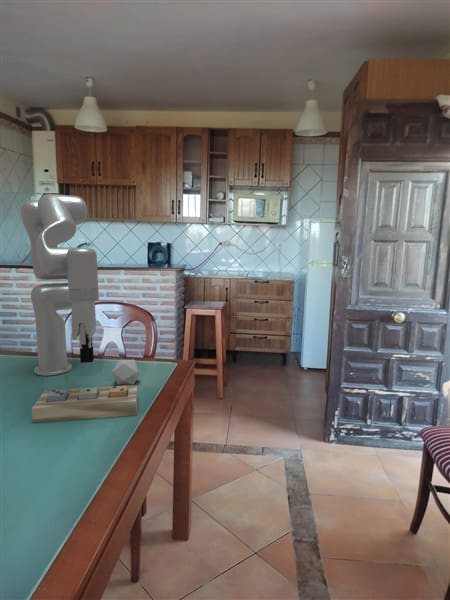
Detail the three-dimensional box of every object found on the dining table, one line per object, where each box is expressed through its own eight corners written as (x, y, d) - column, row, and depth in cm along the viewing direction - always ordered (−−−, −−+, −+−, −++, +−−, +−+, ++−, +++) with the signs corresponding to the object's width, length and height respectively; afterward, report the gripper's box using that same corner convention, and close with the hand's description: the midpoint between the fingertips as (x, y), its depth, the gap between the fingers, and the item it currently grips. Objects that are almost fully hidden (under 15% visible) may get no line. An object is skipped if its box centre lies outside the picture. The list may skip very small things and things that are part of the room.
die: (125, 392, 121) (143, 365, 123) (103, 377, 122) (120, 351, 124) (131, 391, 129) (147, 367, 131) (110, 378, 130) (126, 353, 132)
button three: (51, 400, 106) (51, 389, 106) (68, 399, 107) (67, 388, 107) (47, 406, 102) (46, 395, 102) (65, 405, 103) (64, 394, 103)
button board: (45, 404, 110) (44, 390, 109) (137, 397, 115) (137, 385, 114) (32, 423, 98) (31, 408, 98) (136, 415, 103) (135, 401, 103)
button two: (111, 396, 109) (110, 385, 109) (127, 395, 110) (126, 384, 110) (109, 402, 105) (109, 391, 105) (126, 401, 106) (125, 390, 106)
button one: (82, 398, 108) (81, 387, 107) (98, 397, 109) (97, 386, 108) (79, 404, 104) (78, 393, 103) (96, 403, 104) (95, 392, 104)
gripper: (74, 292, 108) (77, 354, 111) (62, 299, 94) (66, 371, 96) (102, 291, 110) (104, 353, 112) (94, 298, 95) (97, 369, 98)
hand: (87, 361), depth 104 cm, fingers closed
